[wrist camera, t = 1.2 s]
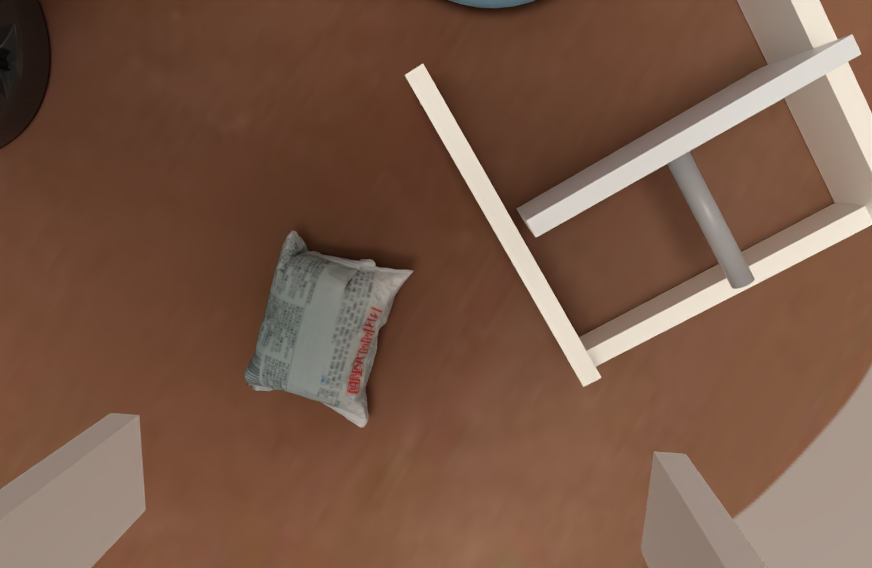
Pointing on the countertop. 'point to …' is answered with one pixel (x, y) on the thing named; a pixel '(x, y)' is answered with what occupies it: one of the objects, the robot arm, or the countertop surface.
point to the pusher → (674, 147)
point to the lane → (851, 212)
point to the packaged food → (323, 327)
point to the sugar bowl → (492, 3)
